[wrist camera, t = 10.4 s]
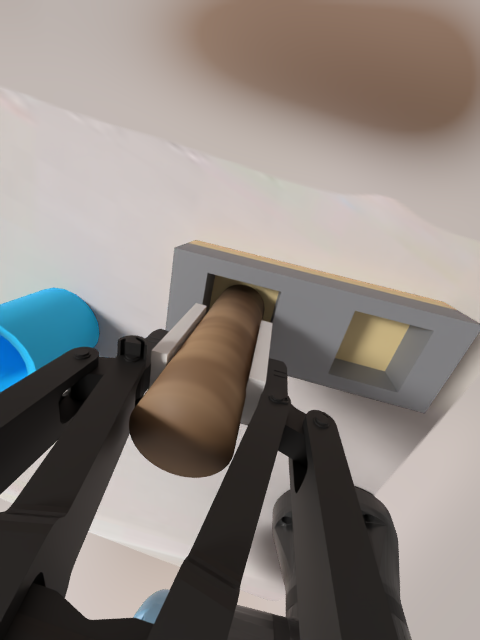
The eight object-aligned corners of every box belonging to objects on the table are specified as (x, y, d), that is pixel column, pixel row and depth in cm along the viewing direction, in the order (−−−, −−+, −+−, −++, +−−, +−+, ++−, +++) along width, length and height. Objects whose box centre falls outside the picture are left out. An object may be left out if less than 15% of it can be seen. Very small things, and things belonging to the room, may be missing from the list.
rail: (443, 301, 22) (483, 325, 18) (400, 377, 26) (424, 413, 21) (195, 240, 24) (174, 247, 19) (184, 319, 27) (164, 341, 22)
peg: (270, 323, 22) (248, 474, 10) (226, 333, 24) (155, 480, 11) (256, 278, 21) (212, 385, 8) (211, 291, 22) (110, 402, 9)
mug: (100, 300, 28) (33, 333, 20) (98, 363, 31) (40, 411, 24) (-4, 268, 28) (-107, 289, 21) (5, 333, 32) (-81, 371, 24)
